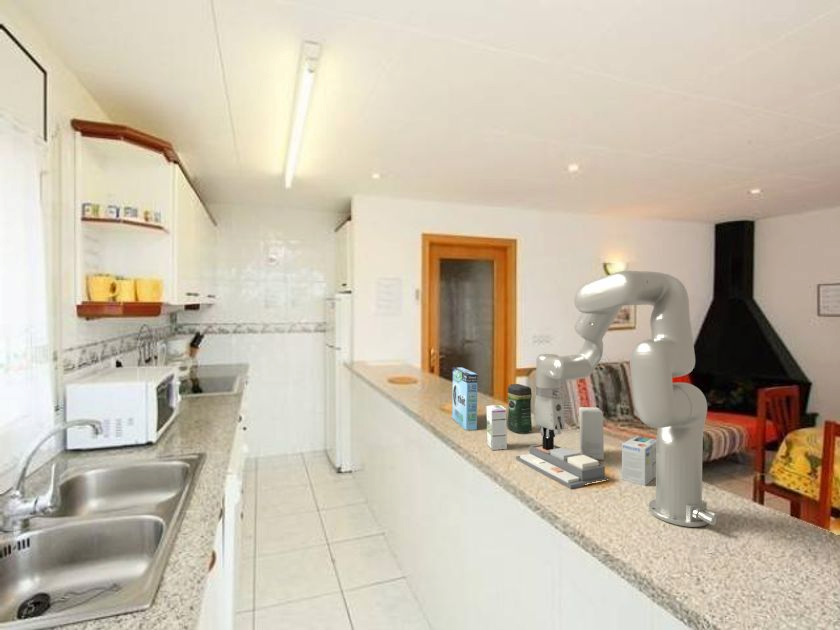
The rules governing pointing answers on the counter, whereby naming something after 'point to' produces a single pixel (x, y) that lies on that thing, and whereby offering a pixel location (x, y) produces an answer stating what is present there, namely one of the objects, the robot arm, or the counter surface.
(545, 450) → the terracotta key
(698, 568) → the counter surface
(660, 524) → the counter surface
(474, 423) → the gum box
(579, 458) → the cream key
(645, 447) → the light bulb box
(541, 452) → the keypad
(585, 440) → the skincare box
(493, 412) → the syrup box
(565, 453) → the grey key
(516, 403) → the coffee jar
